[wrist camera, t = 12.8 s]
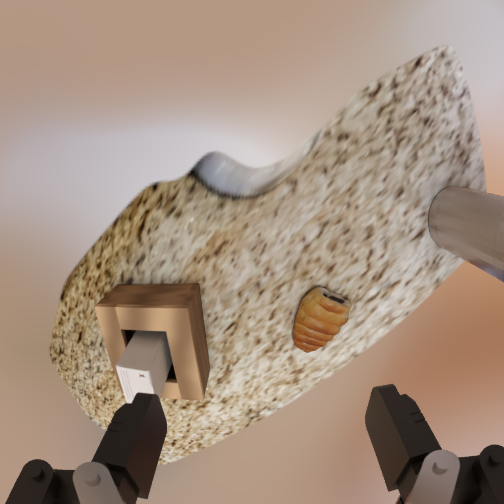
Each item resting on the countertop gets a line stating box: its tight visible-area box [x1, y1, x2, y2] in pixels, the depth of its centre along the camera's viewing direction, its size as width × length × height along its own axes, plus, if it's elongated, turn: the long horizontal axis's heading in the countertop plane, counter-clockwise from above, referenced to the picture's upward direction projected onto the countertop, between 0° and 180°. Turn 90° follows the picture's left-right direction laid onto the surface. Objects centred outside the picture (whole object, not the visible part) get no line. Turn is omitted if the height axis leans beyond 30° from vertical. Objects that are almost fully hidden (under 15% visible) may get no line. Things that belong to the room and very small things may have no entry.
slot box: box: [95, 284, 210, 400], centre depth 37 cm, size 12×14×7 cm
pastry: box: [293, 287, 352, 353], centre depth 38 cm, size 9×7×4 cm
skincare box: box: [116, 330, 172, 403], centre depth 34 cm, size 6×4×12 cm
